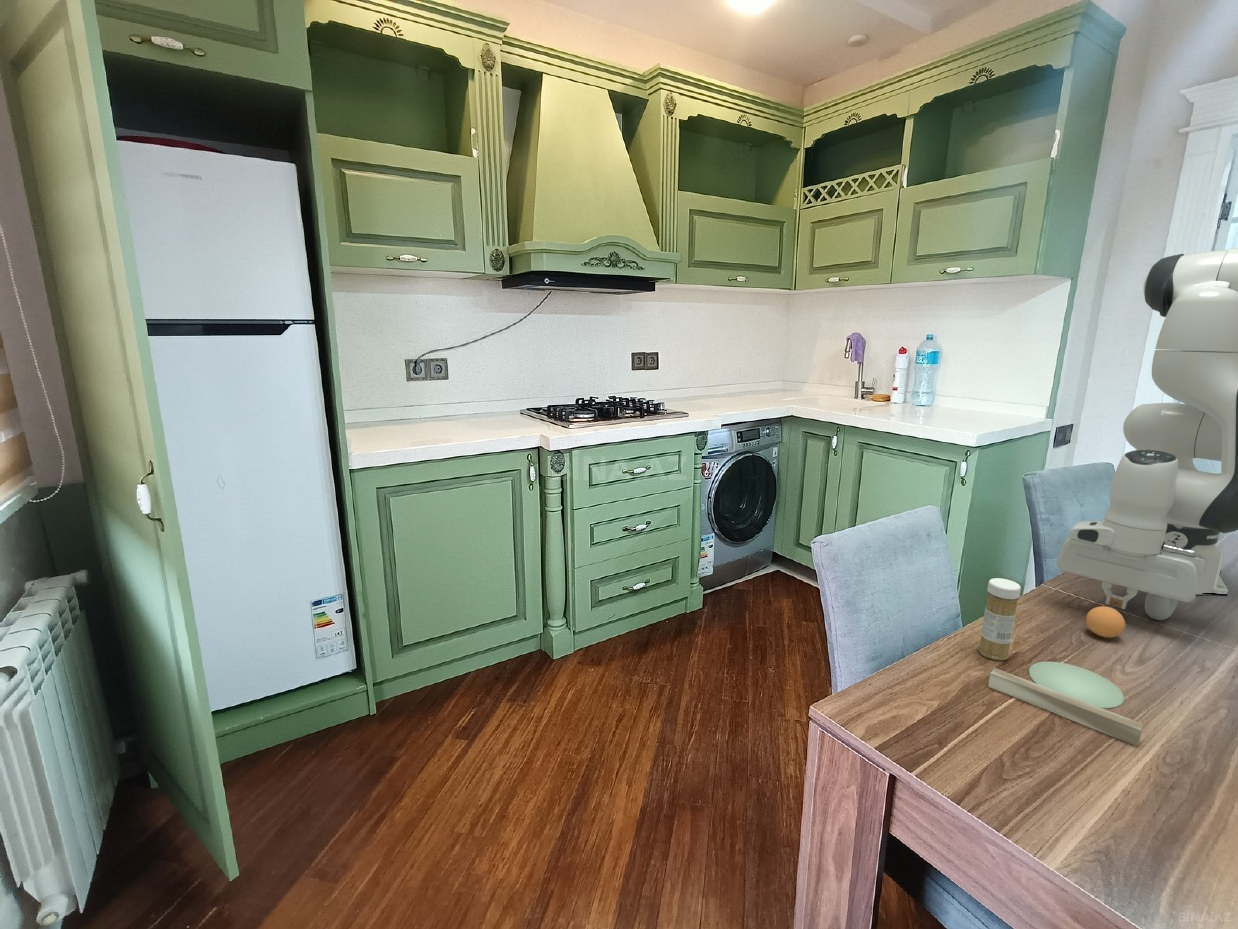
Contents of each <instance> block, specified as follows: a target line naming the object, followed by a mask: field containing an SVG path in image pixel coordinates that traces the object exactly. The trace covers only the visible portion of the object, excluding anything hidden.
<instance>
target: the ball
mask: <svg viewBox="0 0 1238 929" xmlns="http://www.w3.org/2000/svg"><path fill="white" fill-rule="evenodd" d="M1085 621H1086V622H1085V623H1086V626H1087V627H1088V628H1089V630H1090V631H1091V632H1092V633H1094V634H1095V635H1097V636H1099V637H1102V638H1109V639H1110V638H1116V637H1118V636H1120V635H1121V634H1122V633H1123V632H1124V631H1125V628H1126V621H1125V618H1124V616H1123V615H1122V614H1121V613H1120V612H1119V611H1118V610H1116V609H1115V608H1113V607H1109V606H1101V605H1100V606H1097V607H1093V608H1092V609H1090V610H1089V611H1088V612H1087V614H1086V617H1085Z"/></svg>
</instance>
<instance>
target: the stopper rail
mask: <svg viewBox="0 0 1238 929" xmlns="http://www.w3.org/2000/svg"><path fill="white" fill-rule="evenodd" d="M987 688H990V689H993V690H995V691H997V692H1000V693H1002V694H1005V695H1007V696H1010V697H1013V698H1015V699H1018V700H1019V701H1023V702H1025V703H1027V702H1028V704H1030V705H1032V706H1035V707H1037V708H1040V709H1042V708H1043V709H1042V710H1045V709H1046V710H1045V711H1047V712H1050V713H1052V712H1053V713H1052V714H1055V715H1057V716H1060V717H1062V718H1064V719H1067V720H1070V721H1073V722H1075V723H1077V724H1080V725H1082V726H1084V727H1087V728H1089V729H1092V730H1095V731H1098V732H1100V733H1102V734H1105V735H1107V736H1110V737H1112V738H1114V739H1117V740H1120V741H1122V742H1125V743H1127V744H1129V745H1132V746H1134V747H1138V746H1139V743H1140V739H1141V736H1142V732H1143V728H1144V723H1142V722H1139V721H1136V720H1134V719H1131V718H1128V717H1126V716H1123V715H1120V714H1118V713H1115V712H1113V711H1110V710H1109V709H1108V710H1107V709H1106V708H1100V707H1097V706H1094V705H1092V704H1089V703H1086V702H1084V701H1081V700H1078V699H1076V698H1073V697H1070V696H1068V695H1065V694H1063V693H1060V692H1057V691H1055V690H1052V689H1049V688H1047V687H1044V686H1041V685H1039V684H1036V683H1035V682H1034V681H1031V680H1028V679H1025V678H1024V677H1019V676H1017V675H1014V674H1012V673H1009V672H1007V671H1004V670H1002V669H999V668H996V667H995V668H993V669H992V671H990V673H989V680H988V684H987Z"/></svg>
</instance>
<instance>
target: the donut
mask: <svg viewBox="0 0 1238 929" xmlns="http://www.w3.org/2000/svg"><path fill="white" fill-rule="evenodd" d="M1178 604H1179V600H1175V599H1171V598H1167V597H1163V596H1159V595H1155V594H1151V593H1147V592H1146V596H1145V601H1144V610H1145V613H1146V614H1147V615H1148V616H1149V617H1150V618H1151V619H1153V620H1156V621H1164V620H1167V619H1168V618H1170V617H1171V616H1172V614H1173V613H1174V611H1175V610H1176V608H1177V606H1178Z"/></svg>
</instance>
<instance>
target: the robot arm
mask: <svg viewBox="0 0 1238 929" xmlns="http://www.w3.org/2000/svg"><path fill="white" fill-rule="evenodd" d="M1143 295H1144V300H1145V303H1146V305H1148V306H1149V308H1150V309H1151V310H1154V311H1156V312H1158V313H1159V316H1160V317H1163V318H1164V320H1163V322H1162V326H1161V329H1160V331H1159V334H1158V337H1157V340H1156V345H1155V350H1154V354H1153V357H1152V364H1151V379H1152V381H1153V383H1154V385H1155V386H1156V387H1157V388H1158V389H1159V390H1160V391H1161V392H1162V393H1164V394H1165V395H1166V396H1167V397H1168V396H1169V397H1170V398H1172V399H1173V400H1176V401H1177V402H1158V403H1157V402H1156V403H1143V404H1139V405H1138V406H1136V407H1135V408H1133V409H1132V410H1131V411H1130V412H1129V413H1128V415H1127V416H1126V418H1125V420H1124V421H1123V425H1122V426H1123V428H1122V429H1123V430H1122V431H1123V435H1124V439H1125V440H1126V441H1127V442H1128V444H1129V445H1130V446H1131V447H1132V448H1134V449H1135V450H1134V449H1133V450H1131V451H1128V452H1126V453H1124V454H1123V455H1122V457H1121V459H1120V460H1119V463H1118V465H1117V467H1116V470H1115V473H1114V475H1113V478H1112V482H1111V486H1110V489H1109V494H1108V497H1109V498H1108V499H1109V507H1108V508H1107V511H1106V512H1105V514H1104V517H1103V520H1096V521H1095V520H1094V521H1093V520H1092V521H1091V520H1090V521H1088V520H1087V521H1079V522H1077V523H1076V524H1074V525H1073V526H1072V527H1071V529H1070V533H1069V534H1070V536H1069V537H1068V538H1067V539H1066V540H1065V541H1064V542H1063V543H1062V546H1061V547H1060V549H1059V551H1058V554H1057V558H1056V562H1055V566H1056V567H1057V568H1058V570H1059V571H1060V572H1061V571H1062V572H1065V573H1070V574H1073V575H1077V576H1081V577H1085V578H1089V579H1093V580H1097V581H1101V582H1102V583H1101V588H1102V590H1103V592H1104V594H1105V596H1106V598H1105V599H1106V600H1105V605H1107V606H1112V607H1115V608H1119V609H1122V610H1126V607H1127V604H1128V602H1129V601H1130V600H1131V599H1133V598H1134V597H1136V596H1137V594H1138V591H1140V592H1143V593H1146V594H1147V593H1151V594H1155V595H1159V596H1163V597H1167V598H1171V599H1175V600H1179V601H1180V602H1184V603H1189V602H1192V601H1193V600H1195V598H1196V596H1197V595H1202V594H1201V593H1206V592H1208V593H1209V592H1222V593H1224V592H1228V593H1229V589H1228V587H1227V586H1226V584H1225V582H1224V581H1223V579H1222V577H1221V576H1220V575H1221V573H1222V569H1221V567H1222V563H1223V560H1224V555H1223V554H1222V553H1221V551H1219V549H1218V548H1217V546H1216V544H1217V543H1218V540H1219V537H1220V534H1228V533H1233V532H1237V531H1238V247H1233V248H1229V249H1221V250H1219V249H1218V250H1210V251H1203V252H1196V253H1192V254H1191V253H1190V254H1189V253H1188V254H1184V253H1178V254H1174V255H1171V256H1166V257H1163V258H1161V259H1159V260H1158V261H1156V263H1154V264H1153V265H1152V266H1151V268H1150V270H1149V272H1148V274H1147V275H1146V277H1145V280H1144V283H1143ZM1178 402H1180V403H1178ZM1194 459H1200V460H1201V459H1202V460H1210V461H1216V462H1221V465H1220V466H1221V468H1220V469H1221V470H1220V473H1214V472H1213V473H1212V472H1207V471H1200V470H1198V469H1197V467H1196V465H1195V464H1194ZM1113 585H1117V586H1120V587H1125V588H1126V589H1127V590H1126V593H1127V594H1126V595H1124V596H1119V595H1117V594H1116V595H1115V594H1114V593H1113V591H1112V586H1113ZM1179 601H1178V602H1179Z"/></svg>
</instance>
